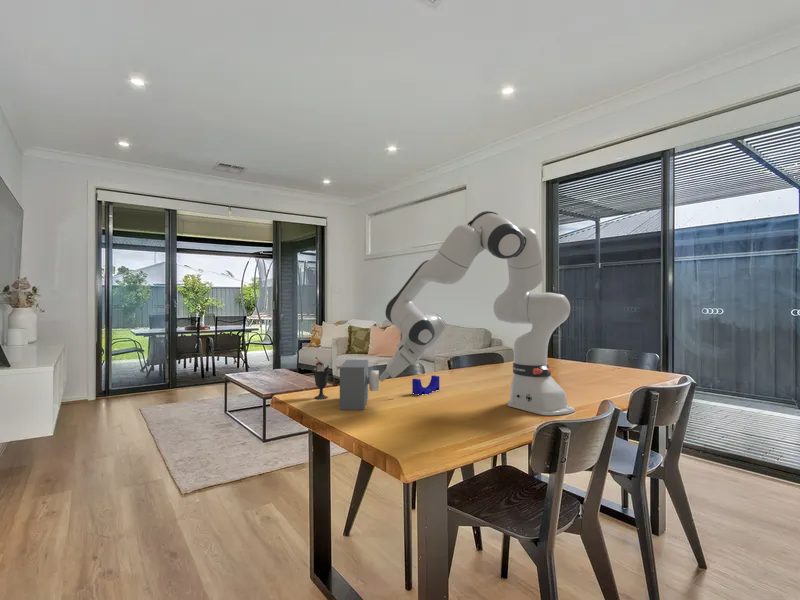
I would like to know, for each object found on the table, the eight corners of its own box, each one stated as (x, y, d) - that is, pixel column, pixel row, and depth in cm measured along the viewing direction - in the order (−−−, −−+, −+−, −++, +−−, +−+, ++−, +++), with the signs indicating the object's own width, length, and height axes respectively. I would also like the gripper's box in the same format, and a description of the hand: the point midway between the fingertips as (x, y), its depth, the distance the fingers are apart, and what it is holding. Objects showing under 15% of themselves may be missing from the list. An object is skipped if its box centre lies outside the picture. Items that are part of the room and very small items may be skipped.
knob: (379, 388, 154) (379, 369, 154) (378, 392, 147) (378, 372, 147) (353, 388, 154) (354, 368, 154) (351, 392, 147) (351, 372, 147)
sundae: (309, 396, 160) (309, 356, 160) (327, 395, 163) (327, 355, 163) (314, 400, 154) (314, 358, 154) (332, 398, 157) (332, 357, 157)
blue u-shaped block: (420, 396, 162) (420, 380, 162) (412, 394, 166) (412, 378, 166) (442, 391, 170) (442, 376, 170) (433, 390, 174) (433, 375, 174)
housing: (368, 397, 159) (368, 359, 159) (363, 410, 141) (364, 367, 141) (346, 397, 159) (346, 359, 159) (339, 409, 141) (339, 367, 141)
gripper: (401, 342, 160) (375, 368, 160) (402, 348, 140) (372, 378, 140) (413, 354, 160) (387, 380, 160) (416, 362, 140) (385, 392, 140)
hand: (380, 379), depth 150 cm, fingers closed, pressing on knob
